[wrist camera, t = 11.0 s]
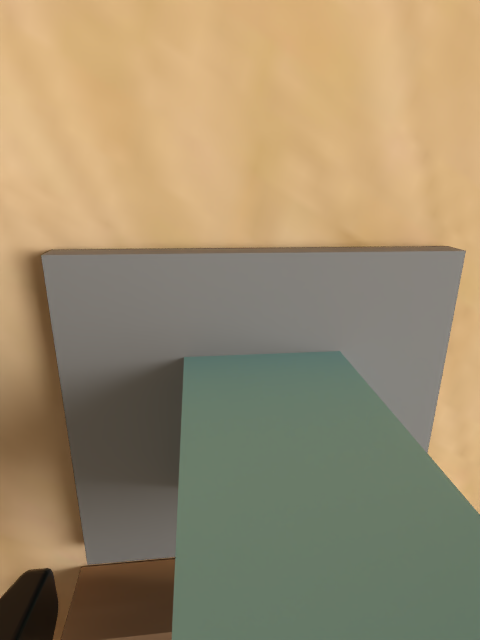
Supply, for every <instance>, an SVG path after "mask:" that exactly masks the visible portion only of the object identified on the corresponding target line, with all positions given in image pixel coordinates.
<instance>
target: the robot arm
mask: <svg viewBox="0 0 480 640" xmlns="http://www.w3.org/2000/svg"><path fill="white" fill-rule="evenodd" d="M57 615H58V597H57V592H56V587H55V581H54V576H53V572H52V571H51V569H48V568H45V569H33V570H28V571H26V572H25V573H23V574H22V575H21V576H20V577H19V578H18V580H17V581H16V582H15V583H14V584H13V585H12V586H11V587H10V588H9V589H8V590H7V592H6V593H5V594H4V595H3V596H2V597H1V598H0V640H53V635H54V630H55V625H56V620H57Z"/></svg>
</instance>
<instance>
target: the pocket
mask: <svg viewBox="0 0 480 640" xmlns="http://www.w3.org/2000/svg"><path fill="white" fill-rule="evenodd" d="M174 575H175V559H167V560H156V561H144V562H133V563H122V564H111V565H99V566H88V567H81V570H80V574H79V577H78V581H77V584H76V588H75V591H74V595H73V599H72V602H71V606H70V609H69V613H68V616H67V620H66V623H65V627H64V630H63V634H62V637H61V640H172V621H173V598H174Z"/></svg>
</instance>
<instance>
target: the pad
mask: <svg viewBox="0 0 480 640" xmlns="http://www.w3.org/2000/svg"><path fill="white" fill-rule="evenodd" d="M465 252H466V251H464V250H460V249H457V248H453V247H449V246H426V247H308V248H190V249H72V250H50V251H48V252H46V253H44V254H42V255H41V258H42V265H43V271H44V278H45V285H46V291H47V298H48V305H49V311H50V318H51V325H52V331H53V338H54V345H55V351H56V358H57V365H58V371H59V378H60V384H61V391H62V398H63V404H64V411H65V418H66V424H67V431H68V438H69V444H70V451H71V458H72V464H73V471H74V478H75V484H76V491H77V498H78V504H79V511H80V518H81V524H82V531H83V538H84V544H85V551H86V558H87V564H88V565H89V564H101V563H112V562H123V561H134V560H146V559H157V558H168V557H175V553H176V530H177V507H178V485H179V462H180V439H181V416H182V394H183V371H184V357H199V356H225V355H251V354H277V353H303V352H329V351H340V352H341V353H342V354H343V355H344V357H345V358H346V359H347V360H348V361H349V362H350V364H351V365H352V366H353V367H354V368H355V369H356V371H357V372H358V373H359V374H360V375H361V376H362V378H363V379H364V380H365V381H366V382H367V383H368V385H369V386H370V387H371V388H372V389H373V391H374V392H375V393H376V394H377V395H378V396H379V398H380V399H381V400H382V401H383V402H384V403H385V405H386V406H387V407H388V408H389V409H390V410H391V412H392V413H393V414H394V415H395V416H396V417H397V419H398V420H399V421H400V422H401V423H402V424H403V426H404V427H405V428H406V429H407V430H408V431H409V433H410V434H411V435H412V436H413V437H414V438H415V440H416V441H417V442H418V443H419V444H420V446H421V447H422V448H423V449H424V450H425V451H426V453H427V452H428V447H429V442H430V437H431V431H432V426H433V421H434V416H435V410H436V405H437V400H438V394H439V389H440V384H441V379H442V373H443V368H444V363H445V358H446V352H447V347H448V342H449V337H450V331H451V326H452V321H453V315H454V310H455V305H456V300H457V294H458V289H459V284H460V279H461V273H462V268H463V263H464V257H465Z"/></svg>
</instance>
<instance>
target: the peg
mask: <svg viewBox="0 0 480 640" xmlns="http://www.w3.org/2000/svg"><path fill="white" fill-rule="evenodd" d="M172 640H480V515H479V513H478V512H477V511H476V510H475V509H474V508H473V506H472V505H471V504H470V503H469V502H468V501H467V499H466V498H465V497H464V496H463V495H462V494H461V492H460V491H459V490H458V489H457V488H456V486H455V485H454V484H453V483H452V482H451V481H450V479H449V478H448V477H447V476H446V475H445V474H444V472H443V471H442V470H441V469H440V468H439V467H438V465H437V464H436V463H435V462H434V461H433V460H432V458H431V457H430V456H429V455H428V454H427V453H426V451H425V450H424V449H423V448H422V447H421V446H420V444H419V443H418V442H417V441H416V440H415V438H414V437H413V436H412V435H411V434H410V433H409V431H408V430H407V429H406V428H405V427H404V426H403V424H402V423H401V422H400V421H399V420H398V419H397V417H396V416H395V415H394V414H393V413H392V412H391V410H390V409H389V408H388V407H387V406H386V405H385V403H384V402H383V401H382V400H381V399H380V398H379V396H378V395H377V394H376V393H375V392H374V391H373V389H372V388H371V387H370V386H369V385H368V383H367V382H366V381H365V380H364V379H363V378H362V376H361V375H360V374H359V373H358V372H357V371H356V369H355V368H354V367H353V366H352V365H351V364H350V362H349V361H348V360H347V359H346V358H345V357H344V355H343V354H342V353H341V352H340V351H329V352H303V353H277V354H251V355H225V356H199V357H184V371H183V394H182V416H181V439H180V462H179V485H178V507H177V530H176V553H175V575H174V598H173V621H172Z"/></svg>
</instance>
